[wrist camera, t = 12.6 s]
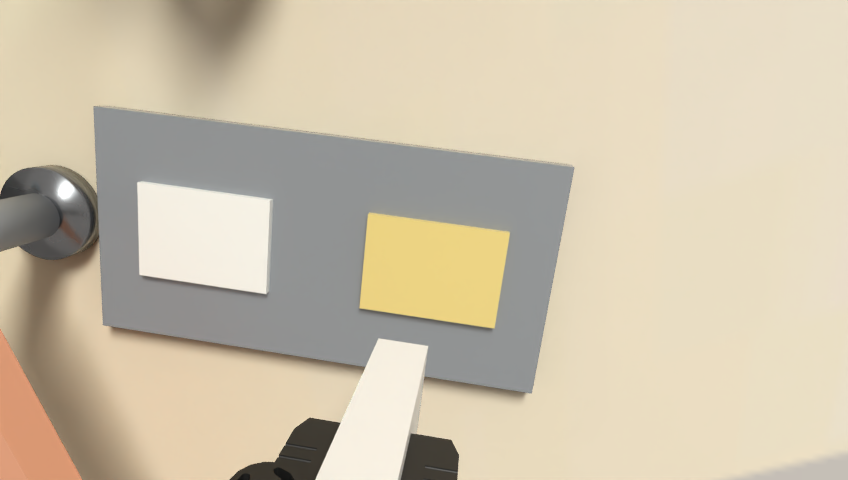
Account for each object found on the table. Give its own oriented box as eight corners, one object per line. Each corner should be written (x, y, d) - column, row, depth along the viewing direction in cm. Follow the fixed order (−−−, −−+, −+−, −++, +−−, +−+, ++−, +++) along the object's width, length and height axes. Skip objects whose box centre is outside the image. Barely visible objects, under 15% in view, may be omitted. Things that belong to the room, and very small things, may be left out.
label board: (114, 318, 31) (98, 327, 29) (107, 105, 28) (87, 106, 26) (530, 383, 29) (532, 397, 28) (571, 165, 26) (575, 168, 25)
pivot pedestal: (21, 247, 30) (3, 252, 29) (14, 159, 29) (-5, 161, 28) (104, 259, 30) (89, 265, 29) (100, 171, 29) (84, 174, 27)
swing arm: (-4, 206, 28) (-238, 254, 19) (58, 182, 27) (-155, 221, 18) (196, 590, 33) (87, 775, 24) (252, 579, 32) (162, 765, 23)
